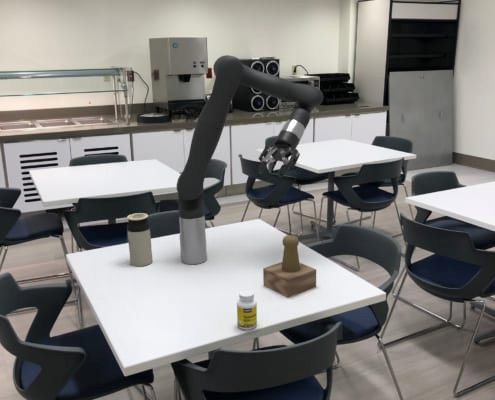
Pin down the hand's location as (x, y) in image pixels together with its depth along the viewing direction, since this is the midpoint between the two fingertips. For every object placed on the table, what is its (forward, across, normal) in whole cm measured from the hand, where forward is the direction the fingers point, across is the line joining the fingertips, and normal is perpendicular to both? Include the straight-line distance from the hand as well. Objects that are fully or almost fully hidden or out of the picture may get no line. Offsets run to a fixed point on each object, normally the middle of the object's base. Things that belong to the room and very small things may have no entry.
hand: (269, 174), depth 172 cm
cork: (+25, +15, +14) cm, 33 cm away
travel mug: (+42, -40, +6) cm, 59 cm away
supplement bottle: (+49, +21, -1) cm, 54 cm away
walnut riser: (+30, +14, +18) cm, 38 cm away
